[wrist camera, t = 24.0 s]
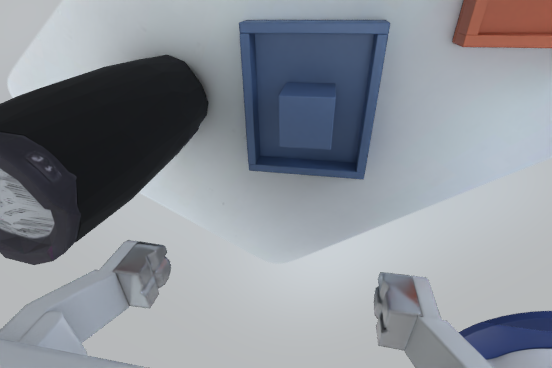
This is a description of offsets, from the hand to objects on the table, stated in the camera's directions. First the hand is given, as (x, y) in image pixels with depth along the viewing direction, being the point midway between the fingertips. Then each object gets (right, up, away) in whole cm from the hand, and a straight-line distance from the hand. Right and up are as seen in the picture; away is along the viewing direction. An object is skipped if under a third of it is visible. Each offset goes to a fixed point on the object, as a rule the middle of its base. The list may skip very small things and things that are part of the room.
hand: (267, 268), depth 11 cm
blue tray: (+4, +11, +17) cm, 21 cm away
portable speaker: (-10, +12, +20) cm, 25 cm away
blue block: (+4, +11, +17) cm, 21 cm away
